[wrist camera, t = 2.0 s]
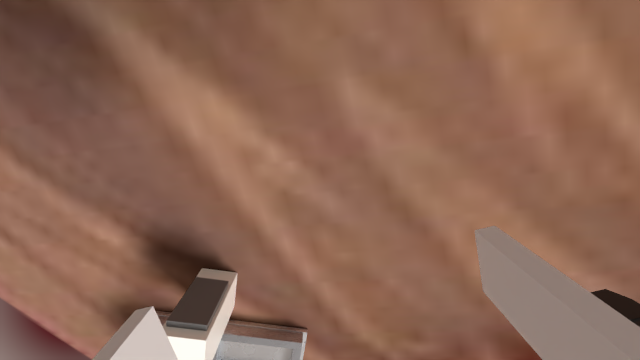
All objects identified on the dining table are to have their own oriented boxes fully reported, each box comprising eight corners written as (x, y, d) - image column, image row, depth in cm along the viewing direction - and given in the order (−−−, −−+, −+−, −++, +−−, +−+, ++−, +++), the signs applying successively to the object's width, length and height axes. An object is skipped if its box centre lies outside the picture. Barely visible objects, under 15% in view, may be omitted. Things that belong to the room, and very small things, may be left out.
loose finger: (200, 301, 35) (156, 378, 26) (202, 263, 34) (156, 328, 24) (234, 306, 35) (203, 383, 26) (237, 267, 34) (206, 334, 24)
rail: (156, 362, 37) (146, 377, 35) (156, 310, 35) (146, 324, 33) (299, 378, 38) (298, 394, 36) (307, 328, 36) (306, 343, 34)
